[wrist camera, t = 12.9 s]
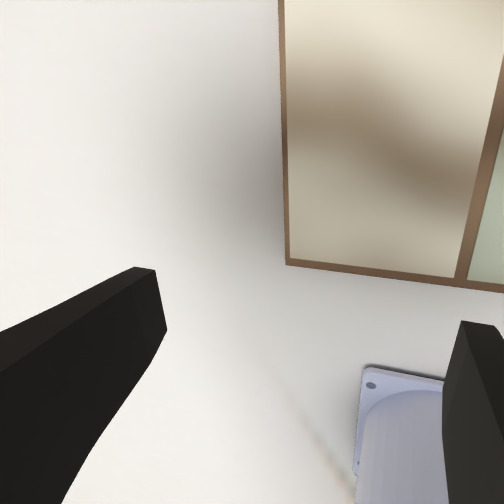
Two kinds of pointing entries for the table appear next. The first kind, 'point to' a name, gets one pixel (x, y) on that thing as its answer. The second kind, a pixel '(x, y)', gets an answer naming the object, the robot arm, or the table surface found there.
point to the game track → (394, 138)
